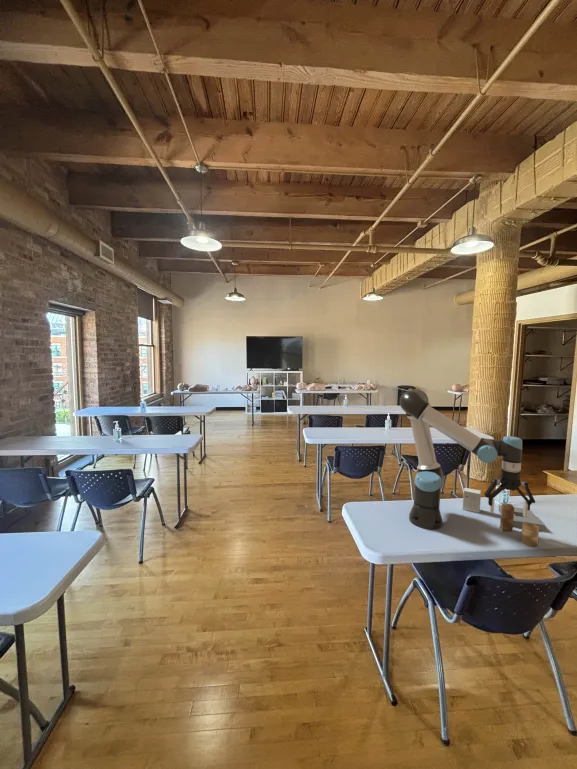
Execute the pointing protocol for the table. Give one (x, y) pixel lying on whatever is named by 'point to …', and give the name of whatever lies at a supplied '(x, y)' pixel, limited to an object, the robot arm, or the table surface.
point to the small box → (471, 500)
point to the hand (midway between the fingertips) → (508, 514)
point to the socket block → (520, 518)
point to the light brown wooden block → (529, 534)
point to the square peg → (507, 517)
